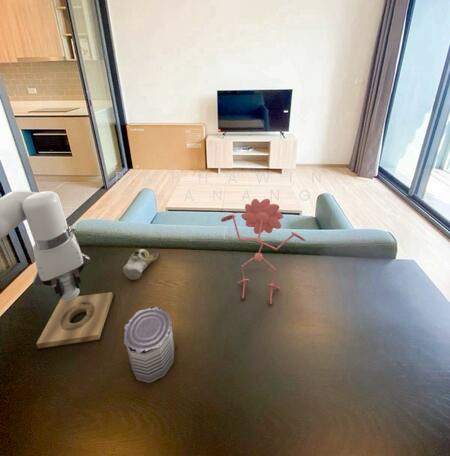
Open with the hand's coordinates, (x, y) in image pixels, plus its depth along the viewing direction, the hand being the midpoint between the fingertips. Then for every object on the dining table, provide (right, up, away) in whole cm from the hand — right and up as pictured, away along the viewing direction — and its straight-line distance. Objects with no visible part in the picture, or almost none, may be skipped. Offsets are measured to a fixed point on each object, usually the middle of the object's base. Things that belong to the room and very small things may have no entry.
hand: (69, 288), depth 70 cm
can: (+26, -16, -5) cm, 31 cm away
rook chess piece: (0, -3, +1) cm, 3 cm away
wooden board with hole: (0, -12, +5) cm, 13 cm away
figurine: (+57, -7, +16) cm, 60 cm away
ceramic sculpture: (+13, -5, +23) cm, 27 cm away
